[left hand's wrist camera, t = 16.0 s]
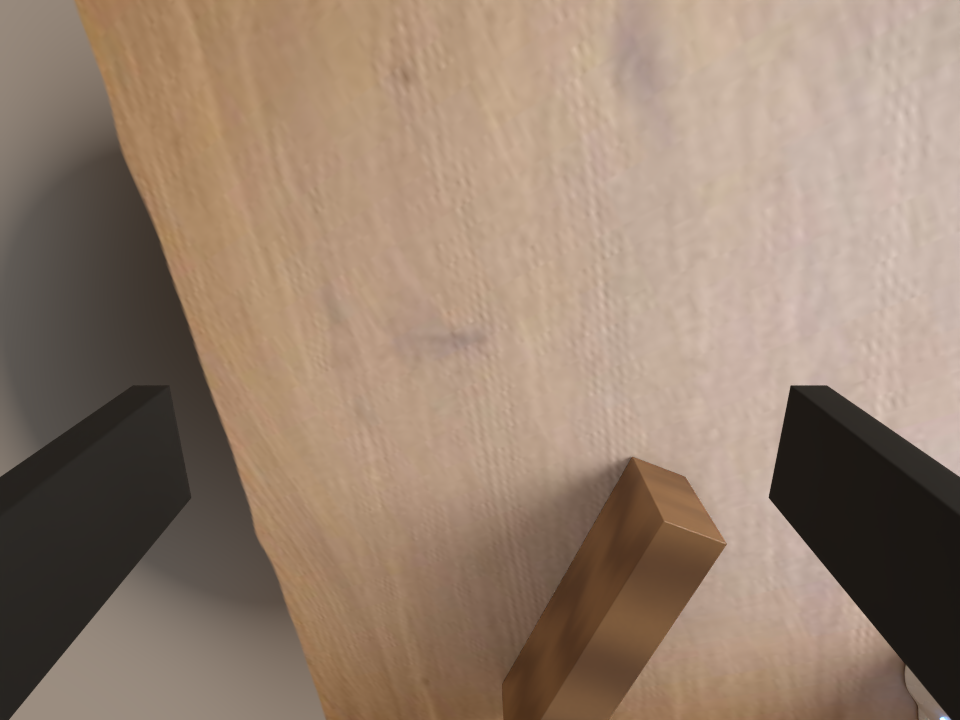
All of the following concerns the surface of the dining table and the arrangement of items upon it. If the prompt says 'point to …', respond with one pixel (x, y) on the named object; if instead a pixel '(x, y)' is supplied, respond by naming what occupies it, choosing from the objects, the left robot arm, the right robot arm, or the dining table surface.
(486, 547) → the dining table surface
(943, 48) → the dining table surface
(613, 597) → the bar
